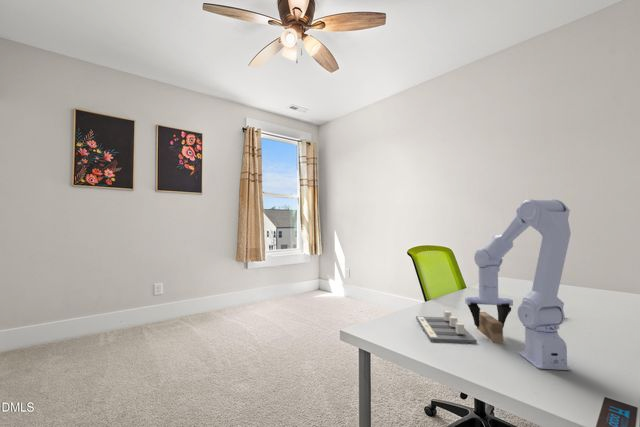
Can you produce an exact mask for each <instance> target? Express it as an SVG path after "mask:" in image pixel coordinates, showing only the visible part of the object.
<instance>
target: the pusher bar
mask: <svg viewBox="0 0 640 427" xmlns="http://www.w3.org/2000/svg"><path fill="white" fill-rule="evenodd" d="M476 329H477V330H478V331H480V333H481V334H483V335H484V336H485V337H486V338H488V340H490V341H491V342H492V343H504V327H503V324H502V323H501V322H499V321H498V319H497V318H495V317H494V316H492V315H490V314H489V313H487V312H486V311H480V314H479V327H477V326H476Z"/></svg>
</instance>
